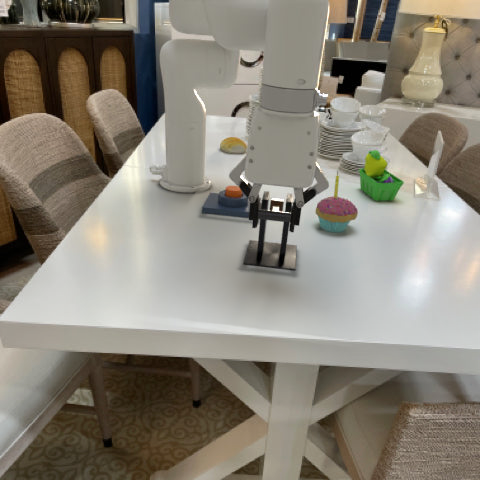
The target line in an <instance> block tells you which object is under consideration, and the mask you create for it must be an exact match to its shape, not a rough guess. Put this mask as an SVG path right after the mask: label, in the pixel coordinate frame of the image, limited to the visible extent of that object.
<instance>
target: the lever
mask: <svg viewBox="0 0 480 480" xmlns="http://www.w3.org/2000/svg"><path fill="white" fill-rule="evenodd" d="M269 203H270V205H269V209H268V210H261V209H259V210H258V219H259V220H260V219H262V220H267V221H273V222H282V223H284V222H289V224H290V222H291V213H288V212H285V211H284V205H285V204H284V203H285V199H283V198H273V197H271V198H270V201H269Z"/></svg>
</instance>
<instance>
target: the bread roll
mask: <svg viewBox="0 0 480 480" xmlns="http://www.w3.org/2000/svg"><path fill="white" fill-rule="evenodd" d="M219 148H220V150H222V151H223V152H224V153H226V154H233V155H234V154H235V155H236V154H238V155H240V154H244V153H245V152H246V151H247V144H246V142H245V141H243V140H242V139H241V138H239V137H236V136H228V137H226V138H224V139H223V140H221V142H220V144H219Z"/></svg>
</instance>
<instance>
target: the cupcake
mask: <svg viewBox="0 0 480 480" xmlns="http://www.w3.org/2000/svg"><path fill="white" fill-rule="evenodd" d="M339 182H340V175H339V171H336V175H335V181H334V191H333V192H334V193H333V196H327V197H325V198H323V199H322V198H321V200H319V201H318V202H317V204H316V207H315V215H317V218H318V221H319V227H320V228H321V230H323V231H326V232H331V233H342V232H344V231H345V230H346V228H347V227H348V225H349V224H350V222H351V221H354V220H356V219H357V218H358V214H359V211H358V207H357V206H356V205H355V204H354V203H353V202H352V201H351V200H349V199H348V198H344V197H340V196H339V195H338V193H339Z"/></svg>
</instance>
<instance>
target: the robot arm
mask: <svg viewBox="0 0 480 480" xmlns="http://www.w3.org/2000/svg"><path fill="white" fill-rule="evenodd" d="M329 15H330V1H329V0H168V16H169V21H170V24H171V27H172V28H173V29H174V30H175V31H176V32H178V33H181V34H186V35H196V36H210V37H212V38H213V39H214V40H211V39H210V40H209V39H208V40H207V39H198V38H174V39H170V40H168V41H165V43H164V44H162V46H161V48H160V51H159V68H160V73H161V81H162V87H163V97H164V129H165V130H164V132H165V133H164V135H165V164H162V165H158V164H149V170H148V171H149V173H151V175H152V176H161V177H160V178H159V184H160V186H161V187H162V188H163V189H165V190H168V191H171V192H176V193H187V194H188V193H196V192H197V191H198V190H204V191H206V190H209V189H210V188H211V183H212V182H211V180H210V179H209V178H208V177H206V175H205V174H206V144H207V143H206V142H207V141H206V140H207V137H206V136H207V109H206V106H205V104H204V102H203V100H202V99H201V98H200V96H199V95H198V94H197V91H196V90H203V89H206V90H207V89H211V90H212V89H213V90H214V89H215V90H223V89H224V90H225V89H229V88H232V87H233V86H234V85H235V83H236V81H237V79H238V75H239V69H240V64H241V57H242V51H249V52H250V51H251V52H263V58H262V59H263V60H262V71H261V72H262V73H261V83H260V84H261V85H260V95H259V106H255V107H254V109H253V112H252V115H251V121H250V126H249V131H248V138H247V144H246V145H247V150H246V151H245V152H246V153H245V155H244V156H243V158H242V159H241V160H240V161H239V162H238V163H237V164H236V166H235V167H233V169H231V170H230V172H229V173H228V179H229V180H231V181H232V182H233V183H234V184H235V186H239V188H240V189H241V191H242V192H243V193H244V194H245V195H246V197H247V198H248V200H249V202H250V209H249V218H248V221H252V225H251V228H252V229H257V228H258V225H259V221H260V219H258V210H259V209H260V199H259V198H260V191H261V189H262V187H263V185H265V186H274V187H284V188H292V189H293V195H294V200H293V201H292V211H291V222H290V223H289V231H288V232H290V233H293V234H294V232H295V227H296V226H297V227H300V222H301V215H302V208H303V207H305V205H306V204H307V203H309V202H311V200H313V199H314V198H315V197H316V196H317V195H320V194H321V193H323V192H325V191H327V190H328V189H329V188H330V182H329V180H328V179H327V177H326V176H325V174H324V172H323V170H322V169H321V167H320V165H319V164H318V161H317V160H318V154H319V153H318V152H319V140H320V113H319V112H317V111H316V108H318V107H321V106H327V103H328V94H324V93H323V92H320V90H318V88H319V83H320V77H321V76H320V75H321V68H322V62H323V61H322V60H323V54H324V50H325V49H324V47H325V42H326V41H325V40H326V35H327V28H328V27H327V26H328V20H329ZM243 172H244V176H243V175H242V173H243ZM314 180H315V181H316V183H315V184H313V183H314ZM251 183H252V184H251ZM312 184H313V185H312ZM306 188H307V189H306ZM304 189H306V190H304ZM260 210H261V209H260Z"/></svg>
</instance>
